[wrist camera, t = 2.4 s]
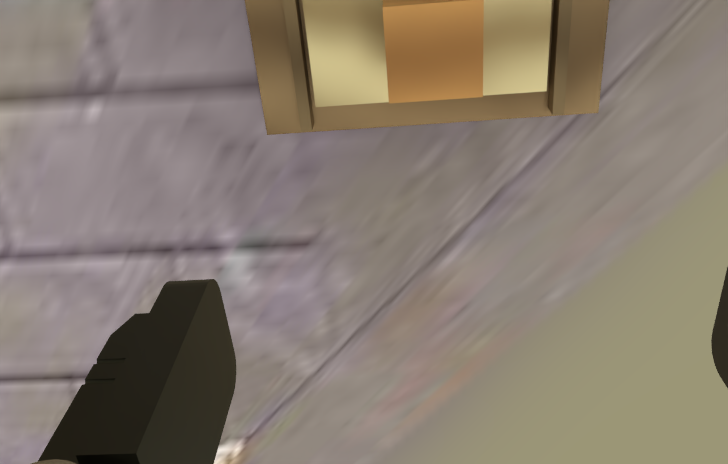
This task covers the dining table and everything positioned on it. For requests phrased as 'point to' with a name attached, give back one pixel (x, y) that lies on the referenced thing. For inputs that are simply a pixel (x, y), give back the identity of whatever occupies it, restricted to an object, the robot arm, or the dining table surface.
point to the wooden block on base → (425, 49)
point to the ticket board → (299, 114)
